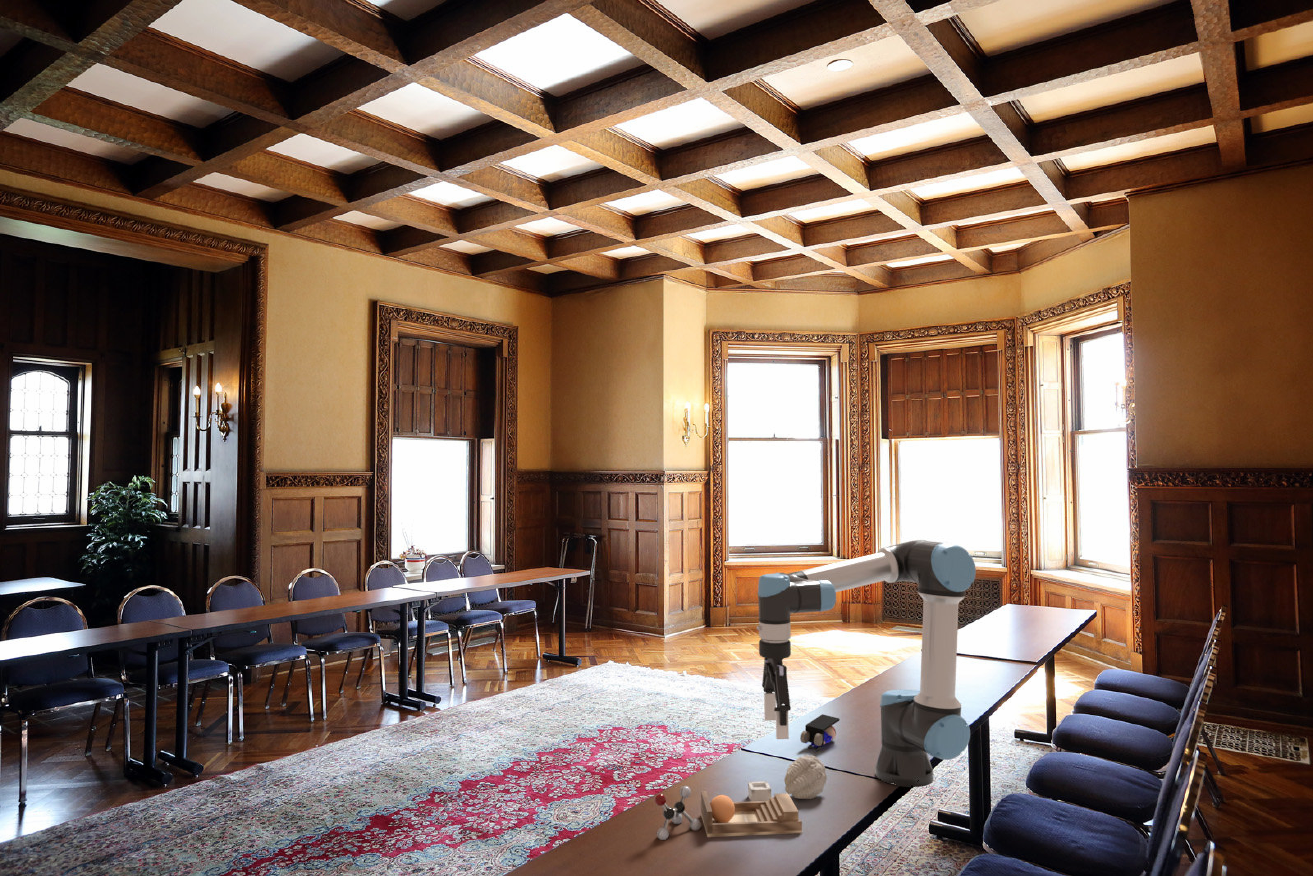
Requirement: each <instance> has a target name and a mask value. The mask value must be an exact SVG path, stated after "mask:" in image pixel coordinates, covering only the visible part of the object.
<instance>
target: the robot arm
mask: <svg viewBox="0 0 1313 876" xmlns="http://www.w3.org/2000/svg"><path fill="white" fill-rule="evenodd" d="M975 563H976V562H975V561H974V558H973V556H972V555H971V554H970V553H969V552H968V551H967V549H965V547H962V546H960V545H958V544H957V545H956V544H953V543H950V542H939V541H929V540H924V539H917V540H910V541H906V542H905V541H904V542H902V543H897V544H894V545H890V546H885V547H883V548H880V549H878V550H877V552H876V553H873V554H867V555H863V556H860V557H859V556H858V557H854V558H851V559H850V558H849V559H846V560H842V561H837V562H834V563H833V562H832V563H829V564H824V565H820V566H816V567H811V568H808V569H802V570H799V571H793V572H789V573H785V572H774V573H766V574H762V575H761V576H760V577H759V578H758V584H757V587H758V588H757V597H758V600H757V601H758V602H757V603H758V624H759V625H756V630H758V635H759V637H758V638H760V640H759V641H758V650H759V651H758V654H759V656H760V657H762V658H763V659H764V664H763V671H762V683H761V687H762V688H763V692H764V693H763V701H764V703H763V704H764V721H767V722H769V721H770V722H771V721H775V729H776V731H775V734H776V735H775V739H776V740H789V739H790V737H789V734H790V733H789V732H790V731H789V711H791V708H792V707H791V701H790V693H789V691H790V690H789V685H788V684H789V683H788V682H789V681H788V675H787V674H788V671H787V670H788V668H787V666H786V665H785V664H783V660H784V659H788V658H790V656H791V655H792V649H791V648H792V647H791V645H792V644H791V643H792V642H791V641H790V639H791V637H792V636H791V634H792V633H791V628H792V627H791V614H801V613H817V612H818V613H822V612H827V611H831V610H832V609H834V607H835V605H836V601H837V593H838V592H842V591H847V590H851V589H855V588H859V587H863V586H868V585H871V584H872V585H873V584H876V583H881V582H886V583H889V584H892V583H897V582H910V583H917V593H918V595H919V596H920V597H921V598H922V600H923V605H922V606H923V608H922V609H923V610H922V631H921V633H922V634H921V636H922V637H921V659H920V660H921V662H920V684H919V690H917V689H892V690H890V689H889V690H887V691H884V692H883V693H882V694H881V696H880V705H879V708H880V733H881V734H880V736H881V737H880V738H881V746H880V749H879V753H878V755H877V759H876V762H875V767H874V768H875V771H874V772H875V776H876V777H877V779H879V780H880V779H881V780H880V781H882V780H883V781H882V782H884V781H885V782H884V783H886V782H888V783H887V784H889V783H894V784H896V785H899V786H898V787H903V788H919V787H926V786H928V785H931V784H932V783H933V782H934V769H933V767H932V764H931V761H930V758H929V755H930V756H931V757H934V758H937V759H940V760H944V761H946V760H947V761H948V760H949V761H950V760H952V759H955V758H958V757H960V755H961V754H962V753H963V752H964V751H965V750H966V749H967V746H968V744H969V743H970V739H971V729H970V726H969V723H967V721H966V719H965V718H964V717H962V703H961V702H960V701H959V700H958V699H957V698H956V682H957V658H958V657H957V653H958V627H959V625H958V624H959V603H960V602H961V601H962V600H964V599H965V598H966V590H968V589H969V588H970V587H971V586H972V584H973V583H974V582H975V578H976V574H977V572H976V571H977V570H976V564H975ZM918 780H919V781H918ZM917 781H918V782H917ZM896 785H895V786H896ZM911 785H913V787H911Z"/></svg>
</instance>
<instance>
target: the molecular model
mask: <svg viewBox="0 0 1313 876" xmlns="http://www.w3.org/2000/svg"><path fill="white" fill-rule="evenodd" d="M691 794H692V790H691V788H690V787H689V786H688V785H682V786H681V788H680V789H679V795H680V800H678V801H676V802H675V803H674V805H673V808H672V807H670V806H669V805H667V798H666V795H664V793H657V794H656V795H655V796H654V803H655V805H656V806H658V807H661V808H662V809H663V811H662V815H663V818H664V823H663V826H662V827H660V828H659V829H658V830H657V831H656V832H657V833H656V836H657V838H658V839H659V840H660V841H661V840H662V841H664V840H667V839H668V838H669V835H670V834H669V830H668V829H667V827H668V823H669V820H671V822H672V823H673V824H674V825H680V824H681V823H682V822H683V816H684V817H685V819H687V820H688V821H689V828H690V830H693V831H698V830H700V829H701V827H702V822H701V821H700V820H699V819H698V818H692V817H691V816H690V815H689V814H688V813H687V812H686V811H685V810H686V806H685V803H684V801H685V799H688V798H689V797H691Z"/></svg>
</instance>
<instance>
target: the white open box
mask: <svg viewBox="0 0 1313 876" xmlns="http://www.w3.org/2000/svg"><path fill="white" fill-rule="evenodd" d="M747 797H748V799H749V802H751V801H770V797H772V789H771V786H770V785H769V782H768V781H748V782H747Z"/></svg>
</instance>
